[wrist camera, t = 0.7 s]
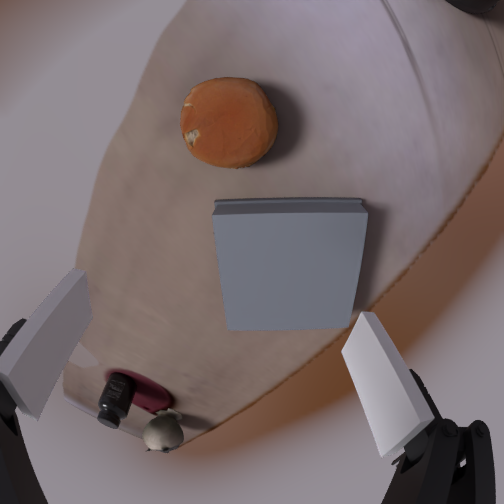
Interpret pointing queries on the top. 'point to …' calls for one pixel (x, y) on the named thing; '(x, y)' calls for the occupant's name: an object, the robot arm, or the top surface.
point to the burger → (228, 122)
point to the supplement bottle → (116, 399)
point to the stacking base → (289, 261)
